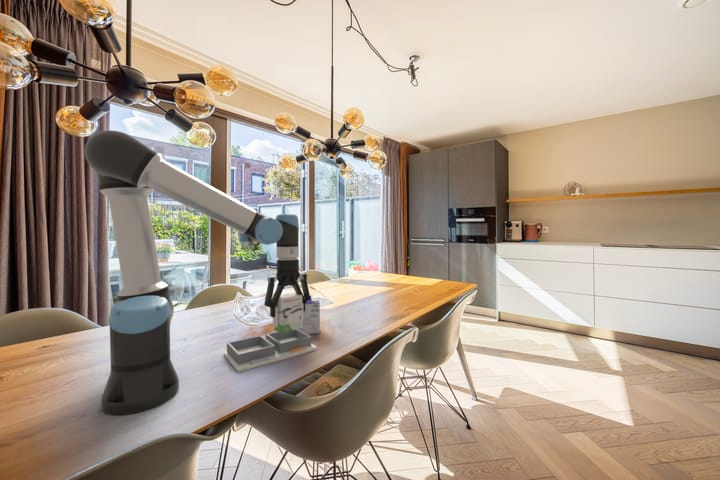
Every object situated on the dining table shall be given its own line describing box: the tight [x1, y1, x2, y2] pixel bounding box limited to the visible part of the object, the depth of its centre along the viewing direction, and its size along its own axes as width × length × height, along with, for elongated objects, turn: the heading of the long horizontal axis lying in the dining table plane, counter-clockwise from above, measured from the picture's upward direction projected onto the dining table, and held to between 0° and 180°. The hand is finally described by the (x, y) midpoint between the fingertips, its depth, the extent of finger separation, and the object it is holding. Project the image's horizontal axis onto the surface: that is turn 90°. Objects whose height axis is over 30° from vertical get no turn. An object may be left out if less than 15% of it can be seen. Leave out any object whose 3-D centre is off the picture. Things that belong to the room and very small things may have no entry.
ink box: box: [274, 292, 302, 333], centre depth 104 cm, size 9×5×12 cm, turn 134°
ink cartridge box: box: [298, 295, 321, 335], centre depth 119 cm, size 10×6×14 cm, turn 106°
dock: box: [223, 329, 318, 373], centre depth 99 cm, size 26×15×4 cm, turn 129°
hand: (288, 323), depth 104 cm, fingers closed on ink box, 9 cm apart
